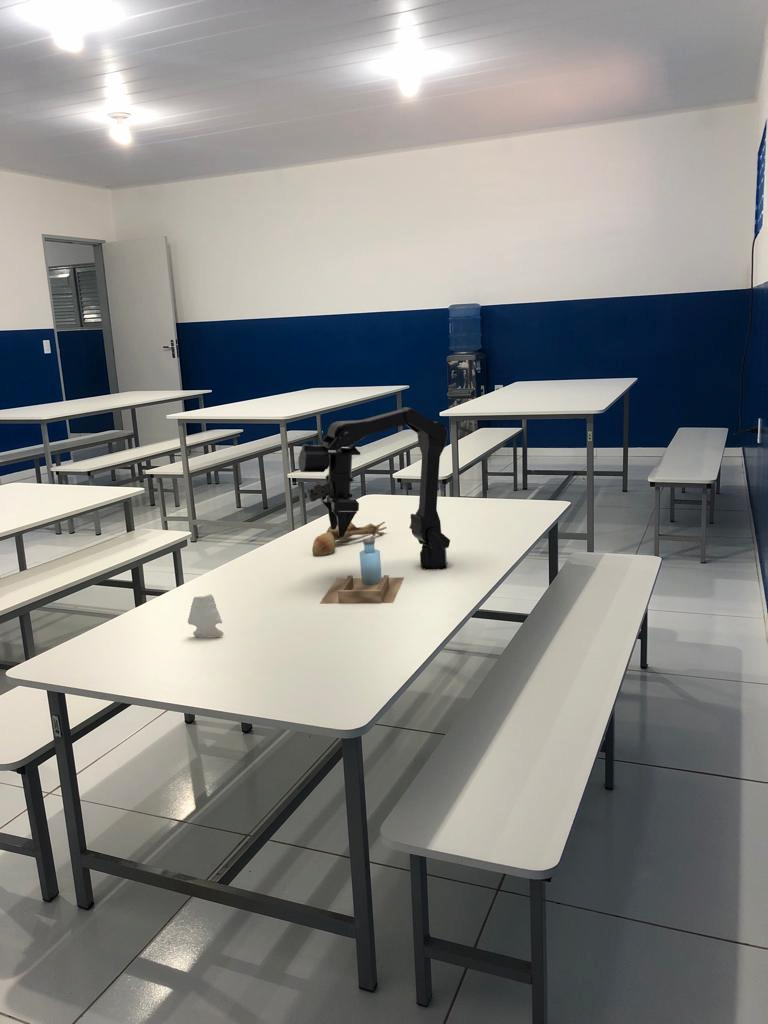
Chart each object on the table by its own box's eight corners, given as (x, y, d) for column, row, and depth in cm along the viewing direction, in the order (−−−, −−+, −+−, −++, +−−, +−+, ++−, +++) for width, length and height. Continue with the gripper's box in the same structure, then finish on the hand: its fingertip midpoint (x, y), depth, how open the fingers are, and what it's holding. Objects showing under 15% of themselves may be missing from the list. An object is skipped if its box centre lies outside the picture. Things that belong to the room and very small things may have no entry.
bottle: (383, 578, 219) (380, 536, 217) (380, 584, 214) (377, 542, 212) (363, 578, 220) (360, 537, 218) (360, 585, 215) (356, 542, 213)
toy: (340, 540, 277) (289, 555, 251) (340, 515, 276) (288, 526, 250) (387, 544, 269) (339, 559, 243) (387, 517, 268) (339, 530, 242)
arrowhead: (187, 639, 187) (182, 596, 185) (191, 635, 189) (186, 592, 187) (222, 638, 186) (217, 595, 183) (226, 635, 188) (221, 592, 186)
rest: (404, 579, 219) (403, 566, 218) (393, 605, 200) (392, 590, 199) (337, 580, 222) (336, 567, 222) (319, 605, 203) (318, 591, 202)
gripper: (301, 466, 219) (299, 525, 221) (315, 476, 201) (313, 540, 204) (343, 467, 222) (340, 525, 224) (360, 477, 204) (357, 540, 207)
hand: (337, 532), depth 215 cm, fingers open, 9 cm apart
